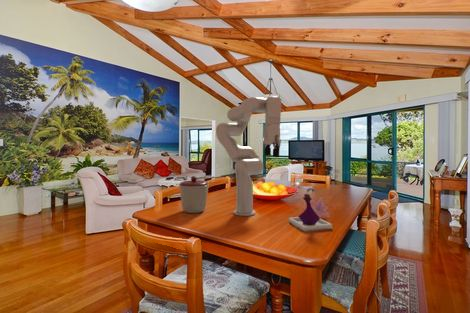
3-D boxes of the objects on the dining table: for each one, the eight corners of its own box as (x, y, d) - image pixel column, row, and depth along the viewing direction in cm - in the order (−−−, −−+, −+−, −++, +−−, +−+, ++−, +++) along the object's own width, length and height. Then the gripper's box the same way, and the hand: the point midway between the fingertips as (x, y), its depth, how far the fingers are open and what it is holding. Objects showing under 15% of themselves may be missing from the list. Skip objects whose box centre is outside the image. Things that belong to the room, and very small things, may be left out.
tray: (288, 222, 133) (288, 217, 133) (314, 219, 137) (314, 215, 137) (303, 231, 119) (304, 226, 118) (331, 229, 122) (332, 224, 122)
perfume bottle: (308, 227, 123) (309, 189, 122) (298, 222, 129) (298, 187, 128) (320, 224, 126) (321, 188, 125) (309, 220, 133) (310, 186, 132)
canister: (172, 213, 147) (172, 177, 146) (187, 206, 165) (187, 173, 164) (201, 216, 142) (201, 179, 141) (213, 208, 159) (213, 175, 158)
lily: (306, 219, 141) (314, 206, 137) (303, 206, 151) (310, 194, 147) (327, 226, 141) (335, 213, 137) (322, 212, 152) (330, 200, 148)
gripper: (259, 122, 135) (258, 154, 136) (273, 120, 119) (272, 157, 120) (272, 123, 137) (271, 154, 139) (287, 121, 121) (286, 157, 122)
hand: (271, 156), depth 129 cm, fingers open, 9 cm apart
